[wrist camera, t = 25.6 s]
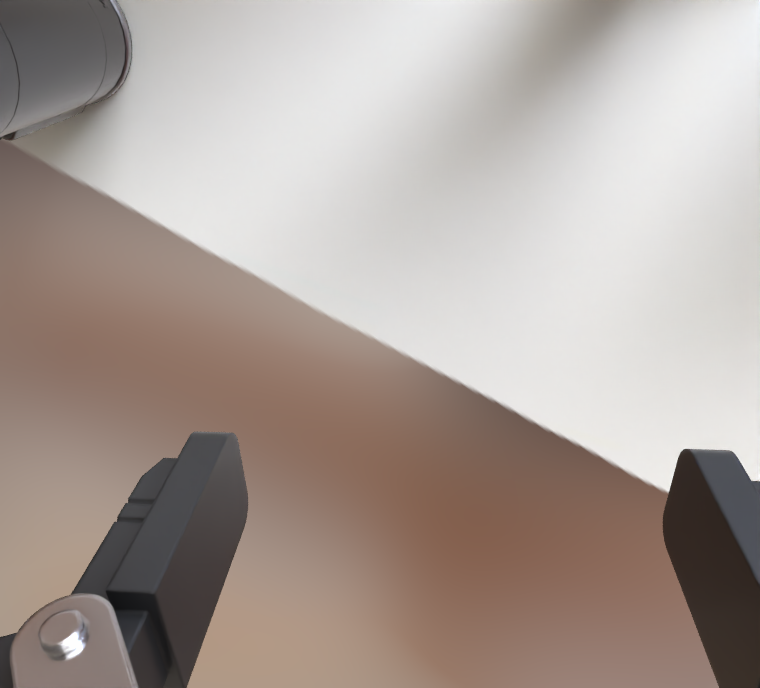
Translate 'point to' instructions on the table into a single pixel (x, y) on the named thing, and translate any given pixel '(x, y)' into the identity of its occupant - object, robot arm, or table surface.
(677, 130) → the table surface
